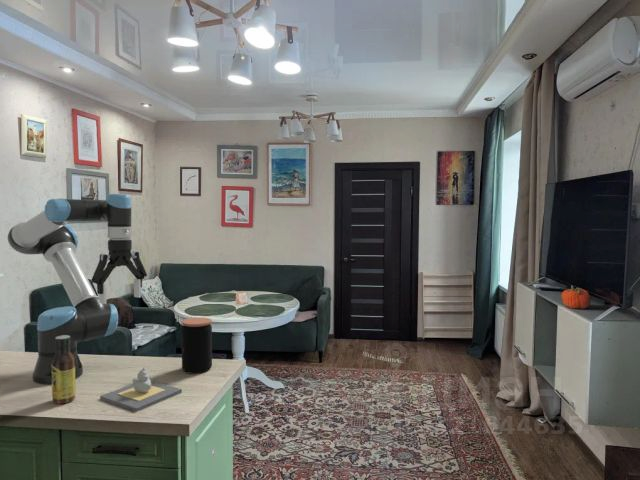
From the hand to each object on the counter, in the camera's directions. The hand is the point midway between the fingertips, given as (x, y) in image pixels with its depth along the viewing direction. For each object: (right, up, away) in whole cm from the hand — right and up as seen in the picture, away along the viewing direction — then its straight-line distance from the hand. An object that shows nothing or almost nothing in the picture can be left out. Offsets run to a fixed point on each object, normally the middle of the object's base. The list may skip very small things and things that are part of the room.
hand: (120, 300), depth 161 cm
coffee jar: (+24, -27, +9) cm, 37 cm away
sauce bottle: (-9, -28, -20) cm, 36 cm away
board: (+13, -28, -16) cm, 35 cm away
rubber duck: (+13, -27, -16) cm, 34 cm away
